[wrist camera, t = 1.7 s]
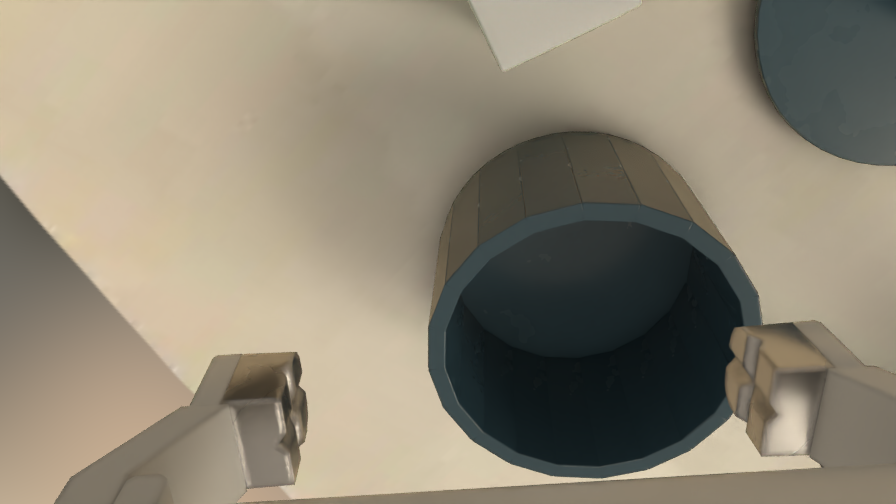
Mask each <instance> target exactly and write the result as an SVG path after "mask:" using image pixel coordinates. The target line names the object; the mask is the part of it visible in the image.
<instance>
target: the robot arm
mask: <svg viewBox="0 0 896 504" xmlns="http://www.w3.org/2000/svg"><path fill="white" fill-rule="evenodd" d="M729 348H730V349H731V350H732V352H733V353H734V355H735V356H736V357H735V358H734V359H733V360H732V361H731V362H730V363H729V364H728V366H727V367H726V373H725V390H726V397H727V400H728V403H729V405H730V408H731V409H732V411H733V413H734V414H735V416H736V417H738V418H740V419H742V420H743V421H745V422H747V427H746V433H747V435H748V436H749V438H750V439H751V441H752V443H753V444H754V446H755V447H756V449H757V450H758V452H759V453H760V455H761V456H762V457H764V456H794V455H810V456H809V457H810V458H812V459H813V460H815V461H816V462H818V463H819V464H821V465H822V466H823V467H825V468H808V469H792V470H775V471H759V472H742V473H726V474H709V475H693V476H676V477H660V478H643V479H627V480H610V481H593V482H577V483H560V484H544V485H527V486H511V487H494V488H477V489H461V490H444V491H428V492H411V493H394V494H378V495H361V496H345V497H328V498H312V499H295V500H278V501H262V502H246V503H236V502H237V501H238V500H239V499H240V498H241V497H242V496H243V495H244V494H245V493H246V492H247V489H249V488H261V487H272V486H284V485H295V481H296V477H297V473H298V469H299V464H300V460H301V456H300V450H299V446H300V445H302V444H303V443H304V442H305V438H306V433H307V422H308V410H307V399H306V393H305V391H304V390H303V389H302V388H301V387H300V386H299V382H300V378H301V374H302V368H301V363H300V358H299V355H298V354H297V352H282V353H256V354H244V355H243V354H231V355H218V356H216V357H214V358H213V359H212V361H211V363H210V365H209V367H208V369H207V371H206V373H205V375H204V377H203V379H202V381H201V383H200V385H199V387H198V389H197V391H196V393H195V396H194V398H193V400H192V402H191V404H190V406H187V407H186V406H185V407H180V408H179V409H177V410H175V411H174V412H172V413H171V414H169V415H168V416H166V417H164V418H163V419H161V420H160V421H158V422H157V423H155V424H154V425H152V426H150V427H149V428H147V429H146V430H144V431H143V432H141V433H139V434H138V435H136V436H135V437H134V438H132V439H130V440H129V441H127V442H126V443H124V444H122V445H121V446H119V447H118V448H116V449H114V450H113V451H111V452H110V453H108V454H107V455H105V456H103V457H102V458H100V459H99V460H97V461H96V462H94V463H92V464H91V465H89V466H88V467H86V468H85V469H83V470H81V471H80V472H78V473H77V474H75V475H74V476H72V477H71V478H70V479H69V481H68V482H67V484H66V485H65V487H64V489H63V490H62V492H61V493H60V495H59V497H58V498H57V499H56V501H55V503H54V504H896V374H893V373H891V372H888V371H886V370H883V369H881V368H878V367H876V366H865V365H864V364H863V363H862V362H861V361H860V360H859V359H858V358H857V357H856V356H855V355H854V354H853V353H852V352H851V351H850V350H849V349H848V348H847V347H846V346H845V345H843V344H842V343H841V342H840V341H839V340H838V339H837V338H836V337H835V336H834V335H833V334H832V333H831V332H830V331H829V330H828V329H827V328H826V327H825V326H824V325H823V324H822V323H821V322H818V321H815V320H811V321H801V322H790V323H780V324H768V325H756V326H744V327H734V329H733V331H732V333H731V337H730V343H729Z"/></svg>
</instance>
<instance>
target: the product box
mask: <svg viewBox="0 0 896 504" xmlns="http://www.w3.org/2000/svg"><path fill="white" fill-rule="evenodd" d="M467 1H468V3H469V5H470V7H471V9H472V11H473V13H474V16H475V18H476V20H477V22H478V24H479V26H480V28H481V30H482V33H483V35H484V37H485V39H486V41H487V43H488V45H489V47H490V49H491V51H492V53H493V55H494V57H495V59H496V61H497V63H498V66H499V68H500V70H501V71H503V72H505V71H507V70H509V69H512V68H514V67H516V66H518V65H520V64H522V63H525V62H527V61H529V60H531V59H533V58H535V57H537V56H540V55H542V54H544V53H546V52H548V51H550V50H552V49H554V48H556V47H558V46H561V45H563V44H565V43H567V42H569V41H571V40H573V39H575V38H577V37H579V36H581V35H583V34H585V33H588V32H590V31H592V30H594V29H596V28H598V27H600V26H602V25H604V24H606V23H608V22H610V21H612V20H614V19H616V18H618V17H620V16H622V15H624V14H626V13H628V12H630V11H632V10H633V9H635V8H637V7H639V6H641V5H642V1H641V0H467Z"/></svg>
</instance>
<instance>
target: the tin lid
mask: <svg viewBox="0 0 896 504" xmlns="http://www.w3.org/2000/svg"><path fill="white" fill-rule="evenodd" d="M754 39H755V52H756V59H757V64H758V68H759V73H760V76H761V79H762V82H763V84H764V87H765V89H766V92H767V94H768V96H769V98H770V100H771V101H772V103H773V105H774V106H775V108H776V110H777V111H778V113H779V114H780V115H781V116H782V117H783V119H784V120H785V121H786V122H787V124H788V125H789V126H790V127H792V128H793V129H794V130H795V131H796V132H797V133H798V134H799V135H801V136H802V137H803V138H804V139H805V140H807V141H809V142H810V143H812V144H813V145H815V146H816V147H818V148H820V149H821V150H823V151H826V152H828V153H830V154H832V155H835V156H837V157H839V158H843V159H846V160H850V161H854V162H857V163H864V164H871V165H884V166H896V0H758V1H757V6H756V12H755V28H754Z"/></svg>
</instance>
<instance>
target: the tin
mask: <svg viewBox="0 0 896 504" xmlns="http://www.w3.org/2000/svg"><path fill="white" fill-rule="evenodd" d="M756 325H763V323H762V315H761V308H760V301H759V295H758V292H757V291H756V289H755V287H754V286H753V284H752V282H751V281H750V279H749V277H748V275H747V274H746V272H745V270H744V269H743V267H742V265H741V264H740V262H739V260H738V259H737V257H736V255H735V254H734V252H733V251H732V249H731V248H730V246H729V245H728V243H727V242H726V241H725V239H724V238H723V236H722V235H721V233H720V232H719V230H718V229H717V227H716V226H715V224H714V223H713V221H712V220H711V219H710V217H709V216H708V214H707V213H706V211H705V210H704V208H703V207H702V205H701V204H700V202H699V201H698V199H697V198H696V197H695V195H694V194H693V192H692V191H691V189H690V188H689V186H688V185H687V183H686V182H685V180H684V179H683V177H682V176H681V175H680V174H679V173H677V172H676V171H675V170H674V169H673V168H672V167H671V166H670V165H669V164H667V163H666V162H665V161H664V160H663V159H661V158H660V157H659V156H658V155H656V154H654V153H653V152H651V151H649V150H648V149H646V148H644V147H643V146H641V145H638V144H636V143H634V142H631V141H629V140H627V139H623V138H619V137H616V136H612V135H609V134H602V133H595V132H564V133H555V134H550V135H546V136H542V137H537V138H534V139H531V140H528V141H526V142H523V143H521V144H518V145H516V146H514V147H512V148H510V149H508V150H506V151H504V152H503V153H501V154H499V155H498V156H496V157H495V158H494V159H492V160H491V161H489V162H488V163H486V164H485V165H484V166H483V167H482V168H481V169H480V170H479V171H478V172H477V173H476V174H474V175H473V177H472V178H471V179H470V180H469V181H468V182H467V184H466V185H465V186H464V187H463V188H462V190H461V192H460V193H459V195H458V196H457V198H456V200H455V201H454V203H453V205H452V207H451V209H450V212H449V214H448V216H447V219H446V222H445V226H444V229H443V232H442V234H441V237H440V244H439V251H438V259H437V266H436V273H435V281H434V288H433V296H432V303H431V311H430V318H429V325H428V368H429V373H430V375H431V378H432V380H433V383H434V385H435V388H436V391H437V393H438V396H439V398H440V401H441V403H442V406H443V408H444V409H445V410H446V411H447V413H448V414H449V415H450V416H451V417H452V418H453V419H454V421H455V422H456V423H457V424H458V425H459V426H460V427H461V429H462V430H463V431H464V432H465V433H466V434H467V435H468V437H469V438H470V439H471V440H473V441H474V442H475V443H477V444H478V445H480V446H482V447H483V448H485V449H487V450H488V451H490V452H492V453H493V454H495V455H496V456H498V457H500V458H501V459H503V460H505V461H506V462H508V463H509V462H510V464H513V465H516V466H519V467H523V468H526V469H530V470H533V471H536V472H540V473H543V474H547V475H550V476H553V475H554V476H557V477H580V478H607V477H612V476H617V475H623V474H628V473H633V472H639V471H644V470H647V469H650V468H653V467H655V466H657V465H659V464H662V463H664V462H666V461H668V460H670V459H673V458H675V457H677V456H679V455H681V454H684V453H686V452H688V451H690V450H691V449H693V448H694V447H695V446H697V445H698V444H699V443H700V442H701V441H703V440H704V439H705V438H706V437H708V436H709V435H710V434H711V433H713V432H714V431H715V430H716V429H717V428H719V427H720V426H721V425H722V424H724V423H725V422H726V421H727V420H728V419H729V418H730V417H731V415H732V414H733V411H732V409H731V408H730V405H729V403H728V400H727V397H726V390H725V373H726V367H727V366H728V364H729V363H730V362H731V361H732V360H733V359H734V358H735V357H736V356H735V355H734V353H733V352H732V350H731V349H730V348H729V343H730V337H731V333H732V331H733V329H734V327H744V326H756Z"/></svg>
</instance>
